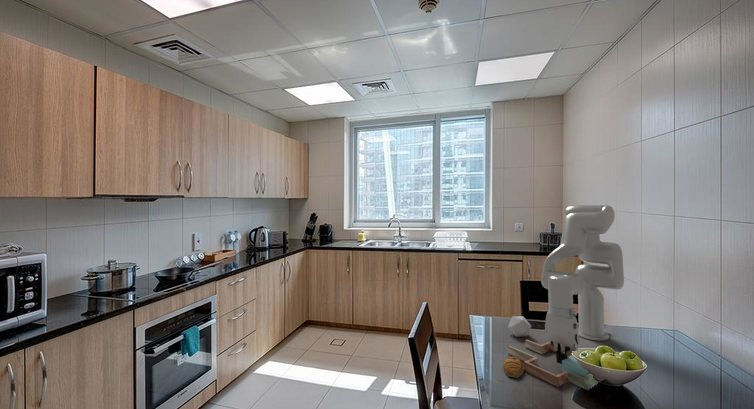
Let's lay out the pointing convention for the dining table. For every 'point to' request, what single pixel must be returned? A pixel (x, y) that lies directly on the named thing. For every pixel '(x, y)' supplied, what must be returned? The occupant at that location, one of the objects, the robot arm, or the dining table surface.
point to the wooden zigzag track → (556, 380)
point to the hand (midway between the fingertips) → (561, 362)
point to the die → (519, 326)
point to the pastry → (513, 367)
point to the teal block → (573, 367)
